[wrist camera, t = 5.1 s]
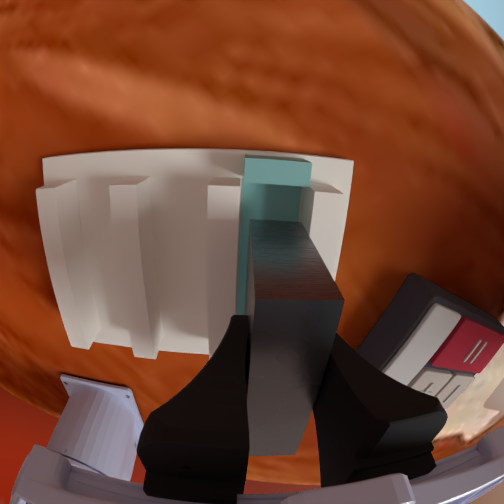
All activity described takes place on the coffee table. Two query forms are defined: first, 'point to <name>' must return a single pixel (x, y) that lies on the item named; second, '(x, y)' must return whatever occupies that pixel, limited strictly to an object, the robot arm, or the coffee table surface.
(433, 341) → the calculator
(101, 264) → the rack
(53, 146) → the coffee table surface
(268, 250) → the panel
